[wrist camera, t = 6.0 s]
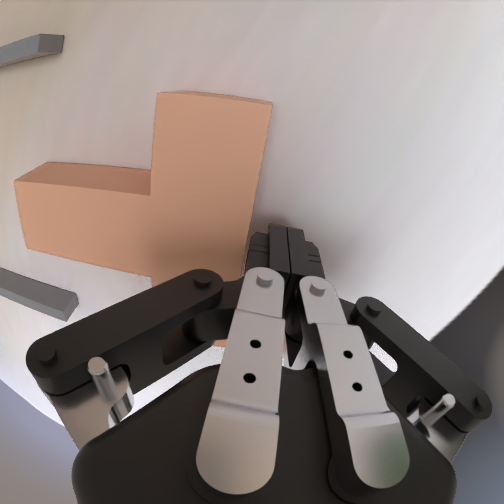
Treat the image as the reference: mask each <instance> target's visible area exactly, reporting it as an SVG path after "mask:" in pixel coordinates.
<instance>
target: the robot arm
mask: <svg viewBox="0 0 504 504" xmlns="http://www.w3.org/2000/svg"><path fill="white" fill-rule="evenodd" d="M226 339H227V343H226V346H225V350H224V354H223V358H222V361H221V364H217V365H212V366H208V367H205V368H202V369H200V370H198V371H196V372H194V373H192V374H190V375H189V376H187V377H186V378H184V379H183V380H182V381H180V382H179V383H177V384H176V385H175V386H173V387H172V388H170V389H169V390H167V391H166V392H164V393H163V394H162V395H160V396H159V397H157V398H156V399H154V400H153V401H151V402H150V403H148V404H147V405H145V406H144V407H142V408H141V409H139V410H138V411H136V412H135V413H133V414H132V415H130V416H129V417H127V418H125V419H124V420H122V419H123V418H124V417H125V416H126V415H127V414H129V412H130V411H131V409H132V408H133V404H134V397H133V395H134V394H136V393H137V392H139V391H141V390H142V389H144V388H146V387H147V386H149V385H151V384H152V383H154V382H156V381H157V380H159V379H161V378H162V377H164V376H166V375H167V374H169V373H170V372H172V371H174V370H175V369H177V368H178V367H180V366H182V365H183V364H185V363H186V362H188V361H189V360H191V359H193V358H194V357H196V356H197V355H199V354H200V353H202V352H203V351H205V350H207V349H208V348H210V347H211V346H212V345H213V344H214V343H215V341H216V340H226ZM374 342H375V343H377V344H378V345H379V346H380V347H381V348H382V349H383V350H384V351H385V352H387V353H388V354H389V355H390V356H391V357H392V358H393V359H394V360H395V361H396V363H397V366H398V368H397V371H396V372H392V371H391V370H389V369H388V368H387V367H386V366H385V365H384V364H383V363H382V362H381V361H380V360H379V359H377V358H376V357H375V356H374V355H373V354H372V353H371V352H370V351H369V349H370V348H371V346H372V345H373V343H374ZM282 358H284V366H282ZM26 365H27V367H28V369H29V371H30V372H31V374H32V375H33V377H34V378H35V380H36V381H37V384H38V386H39V387H40V389H41V390H42V392H43V393H44V394H45V396H46V397H47V398H48V400H49V401H50V402H51V404H52V405H53V406H54V407H55V409H56V411H57V413H58V415H59V417H60V418H61V420H62V422H63V424H64V426H65V427H66V429H67V431H68V432H69V434H70V436H71V437H72V439H73V441H74V442H75V444H76V446H77V447H78V449H79V450H80V451H79V453H78V454H77V456H76V458H75V461H74V463H73V468H72V484H73V489H74V492H75V495H76V498H77V502H78V504H453V501H454V498H455V494H456V488H457V480H456V474H455V471H454V469H453V467H452V465H451V463H452V461H453V459H454V458H455V456H456V454H457V453H458V451H459V449H460V447H461V445H462V444H463V442H464V439H465V438H466V436H467V434H468V433H470V432H471V431H472V430H474V429H475V428H476V427H477V426H479V425H480V424H481V423H483V422H484V421H485V420H486V419H487V418H489V416H490V415H491V413H492V405H491V401H490V398H489V397H488V395H487V394H486V393H485V392H484V391H483V390H482V389H481V388H480V387H479V386H478V385H477V384H476V383H475V382H473V381H472V380H471V379H470V378H469V377H468V376H467V375H466V374H465V373H464V372H462V371H461V370H460V369H459V368H458V367H457V366H456V365H455V364H454V363H452V362H451V361H450V360H449V359H448V358H447V357H446V356H445V355H443V354H442V353H441V352H440V351H439V350H438V349H437V348H436V347H434V346H433V345H432V344H431V343H430V342H429V341H427V340H426V339H425V338H424V337H423V336H422V335H420V334H419V333H418V332H417V331H416V330H415V329H413V328H412V327H411V326H410V325H409V324H408V323H406V322H405V321H404V320H403V319H402V318H400V317H399V316H398V315H397V314H396V313H394V312H393V311H392V310H391V309H390V308H388V307H387V306H386V305H385V304H383V303H382V302H381V301H379V300H377V299H375V298H372V297H361V298H359V299H358V300H357V302H356V304H353V303H351V302H348V301H345V300H343V299H341V298H339V297H338V295H337V292H336V290H335V288H334V286H333V285H332V284H331V283H330V282H328V281H327V280H325V275H324V271H323V267H322V263H321V259H320V255H319V251H318V249H317V247H316V246H315V245H314V244H313V243H312V242H308V241H305V238H304V233H303V230H302V229H297V228H291V227H286V226H281V225H275V224H269V227H268V232H267V234H265V233H259V232H256V233H255V234H254V235H253V236H252V237H251V240H250V245H249V250H248V255H247V260H246V265H245V273H244V276H243V277H242V278H240V279H238V280H235V281H225V282H223V279H222V277H221V276H220V275H219V274H217V273H216V272H214V271H211V270H208V269H194V270H190V271H188V272H186V273H183V274H181V275H179V276H177V277H174V278H172V279H170V280H168V281H166V282H163V283H161V284H159V285H157V286H154V287H152V288H150V289H148V290H145V291H143V292H141V293H139V294H137V295H134V296H132V297H130V298H128V299H125V300H123V301H121V302H119V303H117V304H114V305H112V306H110V307H108V308H105V309H103V310H101V311H99V312H97V313H94V314H92V315H90V316H88V317H86V318H83V319H81V320H79V321H77V322H75V323H72V324H70V325H68V326H66V327H64V328H62V329H59V330H57V331H55V332H53V333H51V334H48V335H46V336H44V337H42V338H40V339H38V340H36V341H35V342H34V343H33V344H32V345H31V346H30V347H29V349H28V351H27V354H26ZM121 420H122V421H121ZM120 421H121V422H120Z"/></svg>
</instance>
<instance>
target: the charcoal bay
mask: <svg viewBox="0 0 504 504" xmlns="http://www.w3.org/2000/svg"><path fill="white" fill-rule="evenodd" d="M63 39H64V35H51V34H38V35H35V36H32V37H28V38H25V39H22V40H19V41H16V42H13V43H11V44H8V45H5V46H3V47H0V68H1V67H4V66H7V65H10V64H14V63H17V62H21V61H25V60H29V59H33V58H37V57H41V56H46V55H51V54H56V53H61V51H62V45H63ZM0 295H1V296H4V297H6V298H8V299H10V300H13V301H15V302H17V303H20V304H22V305H24V306H27V307H29V308H32V309H34V310H37V311H39V312H42V313H44V314H47V315H49V316H52V317H55V318H58V319H60V320H63V321H66V322H67V320H68V319H69V317H70V316H71V314H72V313H73V311H74V310H75V308H76V307H77V305H78V304H79V303H78V300H77V296H76V293H72V292H69V291H66V290H63V289H60V288H56V287H53V286H50V285H47V284H44V283H41V282H38V281H35V280H32V279H30V278H27V277H24V276H21V275H18V274H16V273H13V272H10V271H8V270H5V269H2V268H0Z"/></svg>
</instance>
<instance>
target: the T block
mask: <svg viewBox="0 0 504 504" xmlns="http://www.w3.org/2000/svg"><path fill="white" fill-rule="evenodd" d="M272 107H273V105H272V102H267V101H262V100H256V99H250V98H243V97H236V96H229V95H221V94H212V93H202V92H191V91H172V92H162V93H157V102H156V111H155V122H154V133H153V147H152V164H151V170H143V169H133V168H123V167H113V166H101V165H88V164H73V163H55V162H47V163H45V164H43V165H41V166H39V167H37V168H35V169H34V170H32V171H30V172H28V173H26V174H25V175H23V176H21V177H20V178H18V179H16V180H14V186H15V193H16V200H17V206H18V211H19V216H20V221H21V226H22V231H23V235H24V239H25V243H26V247H27V249H31V250H35V251H39V252H43V253H47V254H51V255H55V256H59V257H63V258H67V259H71V260H75V261H79V262H84V263H88V264H92V265H97V266H101V267H105V268H110V269H115V270H119V271H124V272H128V273H133V274H138V275H143V276H148V277H151V278H152V287H154V286H157V285H159V284H161V283H163V282H166V281H168V280H170V279H172V278H174V277H177V276H179V275H181V274H183V273H186V272H188V271H190V270H194V269H208V270H211V271H214V272H216V273H217V274H219V275H220V276H221V277H222V279H223V282H225V281H235V280H238V279H240V275H241V269H242V264H243V259H244V253H245V248H246V243H247V237H248V232H249V227H250V221H251V216H252V211H253V205H254V200H255V195H256V190H257V184H258V179H259V174H260V169H261V164H262V158H263V153H264V148H265V143H266V138H267V133H268V128H269V122H270V117H271V112H272ZM226 343H227V339H226V340H216V341H215V343H214V344H213V346H219V347H225V346H226Z"/></svg>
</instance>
